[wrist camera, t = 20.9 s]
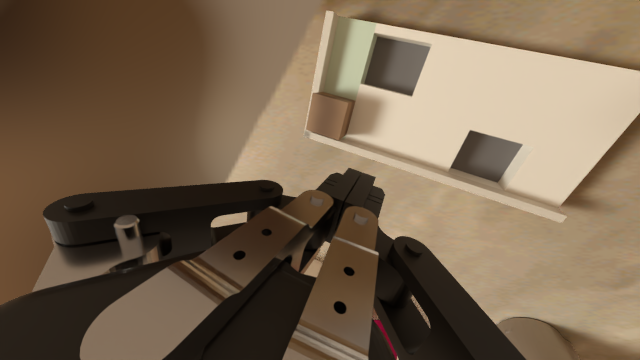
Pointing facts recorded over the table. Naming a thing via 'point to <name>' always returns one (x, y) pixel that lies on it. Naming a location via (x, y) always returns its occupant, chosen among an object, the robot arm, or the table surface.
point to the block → (330, 115)
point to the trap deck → (474, 110)
